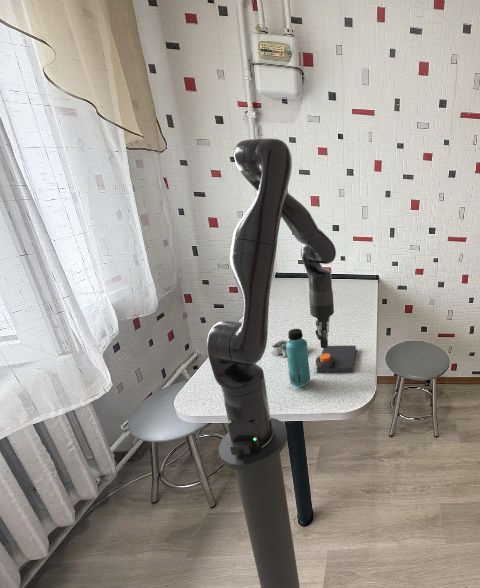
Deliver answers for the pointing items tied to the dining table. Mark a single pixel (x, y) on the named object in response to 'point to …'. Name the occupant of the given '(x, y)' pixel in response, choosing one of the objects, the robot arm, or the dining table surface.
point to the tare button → (325, 358)
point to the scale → (337, 359)
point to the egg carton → (280, 348)
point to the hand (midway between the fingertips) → (324, 347)
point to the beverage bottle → (297, 358)
